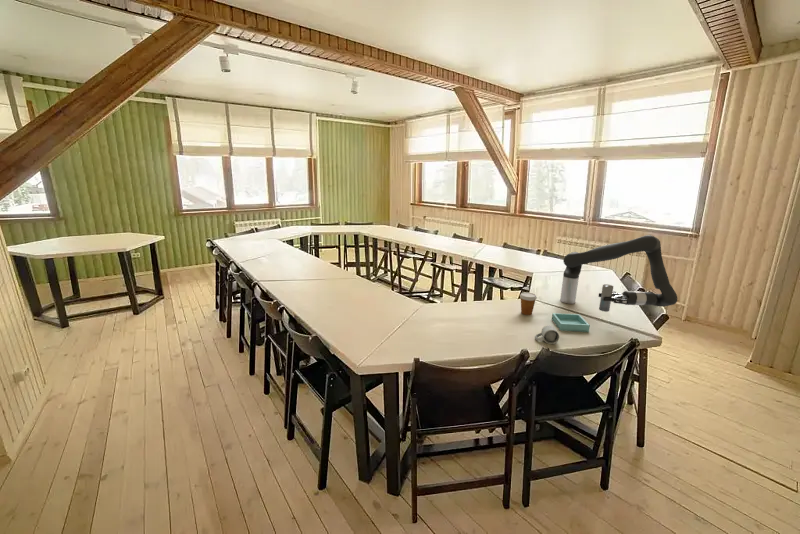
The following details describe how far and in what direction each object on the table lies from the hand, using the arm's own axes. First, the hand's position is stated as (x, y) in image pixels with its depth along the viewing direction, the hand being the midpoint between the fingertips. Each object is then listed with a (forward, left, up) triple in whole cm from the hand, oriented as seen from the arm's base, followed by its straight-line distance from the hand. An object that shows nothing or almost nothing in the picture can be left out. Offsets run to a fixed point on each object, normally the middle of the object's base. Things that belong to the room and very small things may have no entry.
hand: (601, 296), depth 195 cm
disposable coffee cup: (-15, -34, -18) cm, 42 cm away
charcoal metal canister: (0, +3, -7) cm, 8 cm away
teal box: (0, -14, -18) cm, 23 cm away
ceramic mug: (+20, -33, -18) cm, 43 cm away
